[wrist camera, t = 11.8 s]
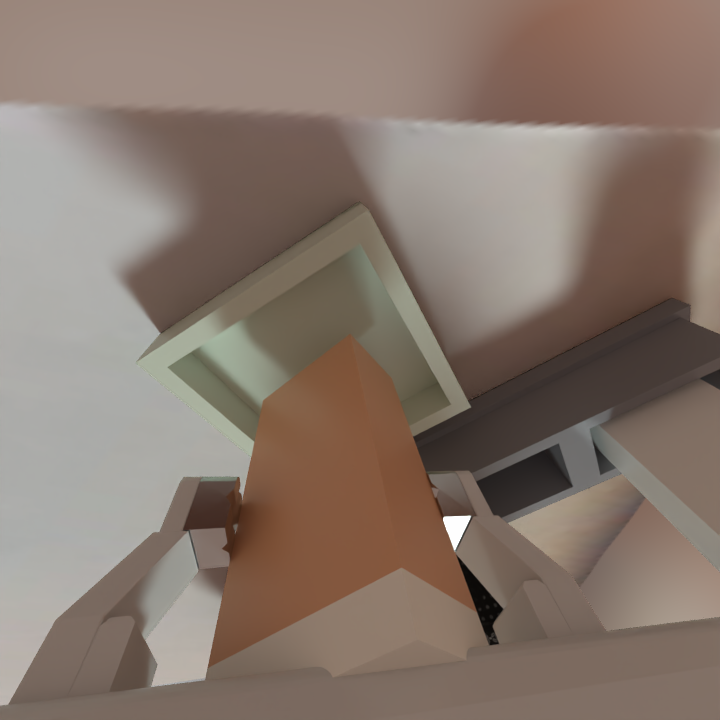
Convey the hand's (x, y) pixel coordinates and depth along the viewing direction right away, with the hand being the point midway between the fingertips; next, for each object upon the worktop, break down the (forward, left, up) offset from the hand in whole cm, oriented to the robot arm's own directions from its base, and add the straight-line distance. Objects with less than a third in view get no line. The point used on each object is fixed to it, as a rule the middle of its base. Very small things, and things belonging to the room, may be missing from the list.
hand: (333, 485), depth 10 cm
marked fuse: (0, 0, -5) cm, 5 cm away
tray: (0, 0, -8) cm, 8 cm away
